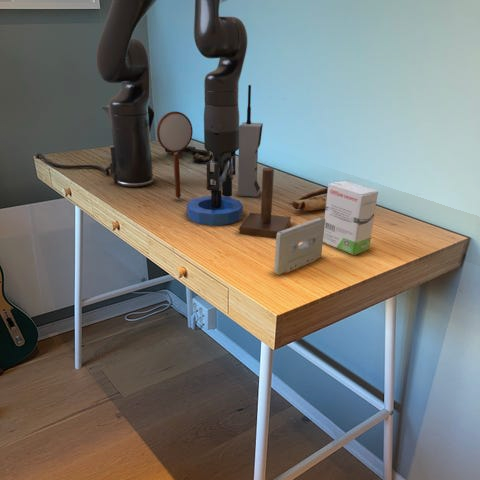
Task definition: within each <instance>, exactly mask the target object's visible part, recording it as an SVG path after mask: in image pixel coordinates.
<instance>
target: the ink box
mask: <svg viewBox="0 0 480 480" xmlns="http://www.w3.org/2000/svg"><path fill="white" fill-rule="evenodd" d="M327 188H328V192H327V194H326V195H327V201H326V208H325V209H324V218H325V228H324V236H323V244H327V245H329V246H331V247H334V248H336V249H338V250H341V251H343V252H345V253H347V254H350V255H352V256H356V255H358V254H360V253H363V252H365V251H368V250H370V246H371V238H372V233H373V226H374V220H375V215H376V214H375V213H376V207H377V200H378V196H379V195H378V194H379V191H378V190H376V189H373V188H370V187H366V186H362V185H360V184H357V183H354V182H350V181H347V180H341V181H335V182H331V183H328V184H327Z"/></svg>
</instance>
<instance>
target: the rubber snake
mask: <svg viewBox="0 0 480 480" xmlns="http://www.w3.org/2000/svg"><path fill="white" fill-rule="evenodd" d="M164 151H165V153H167V154H170V153H172V152H170V151H167V150H166V149H164ZM180 152H181V153H191V154H192V159H193V162H195V163H197V164H207V162H211V159H212V155H213V154H212V152H210V151H207V150H206V149H200V148H199V149H198V148H196V147H195V146H193V145H191V146H190V145H188V146H187V147H186V148H185V149H183V150H182V151H179V152H178V153H180Z"/></svg>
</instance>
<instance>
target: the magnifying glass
mask: <svg viewBox="0 0 480 480" xmlns="http://www.w3.org/2000/svg"><path fill="white" fill-rule="evenodd" d="M158 121H159V122H158V124H157V126H156V138H157V141H158V144H159V145H160V146H161V147H162V148H163V149H164V150H165V149H166V150H167V151H170V152H171V153H173V172H174V173H173V174H174V188H175V189H174V192H175V197H176V201H178V202H179V201H180V200H181V195H182V194H181V177H180V172H181V171H180V154H179V153H180V152H179V151H182V150H183V149H185V148H186V147H187V146H190V143H191V141H192V139H193V134H194V133H193V132H194V131H193V125H192V122H191V120H190V119H189V117H188V116H187V115H186V114H184V112H181V111H177V110H176V111H170V112H167V113H166V114H164V115H162V117H161V119H159V120H158Z"/></svg>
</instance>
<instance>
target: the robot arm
mask: <svg viewBox="0 0 480 480" xmlns="http://www.w3.org/2000/svg"><path fill="white" fill-rule="evenodd" d="M157 1H158V0H112V1H111V5H110V7H109V8H110V9H109V11H108V14H107V18H106V20H105V23H104V26H103V28H102V32H101V34H100V37H99V39H98V43H97V47H96V53H95V64H96V70H97V72H98V74H99V76H100V78H101V79H102V80H104V82H106V83H109V84H121V87H120V90H118V91H119V92H118V93H116V95H115V96H113V97H112V98H111V99H110V100H109V102H108V105H109V110H110V117H109V119H110V126H111V135H112V144H111V145H110V146H109V149H110V157H111V162H109V166H106V168H104V167H102V166H100V165H97V164H75V165H74V164H73V165H72V164H71V165H69V164H67V165H66V164H59V163H56V162H54V161H51V160H49V159H47V158H46V157H45V156H44V155H43V154H42V153H37V154H36V156H35V158H36V159H38V158H39V159H40V158H41V159H42V160H43V161H44V162H45V163H48V164H49V165H52V166H55V167H57V168H62V169H63V168H64V169H80V168H82V169H83V168H93V169H99V170H100V171H101V172H103V173H104V174H105V175H106V176H109V175H110V174H111V175H113V183H114V184H115V185H116V184H117V185H118V186H121V187H127V188H141V187H147V186H149V185H152V184H154V173H153V161H152V148H151V135H150V133H151V132H150V133H149V120H148V106H149V103H150V100H151V99H150V98H151V86H150V85H151V84H150V83H151V81H150V80H151V79H150V61H149V60H150V59H149V56H148V51H147V49H146V46H145V44H144V43H143V42H142V41H141V40H140V39H138V38H137V37H133V35H134V33H135V31H136V29H137V27H138V25H139V24H140V22H141V21H142V20H143V19H144V17H146V15H147V14H148V13H149V11H150V10H151V9H153V6H154V5H155V4H156V3H157ZM227 1H228V0H194V15H193V16H194V17H193V18H194V19H193V39H194V42H195V46H196V48H197V50H198V52H199V53H200V55H202V57H204V58H205V59H210V60H211V59H212V60H213V59H219V60H218V62H217V67H216V68H215V69H214V70H212V71H210V72H208V73H206V75H205V77H204V81H203V83H204V91H203V92H204V110H203V140H204V141H203V143H204V144H203V145H204V150H207V151H209V152H211V153H212V159H211V161H209V162H206V191H210V196H211V206H212V207H213V208H220V207H221V206H222V196H224V197H232V195H233V180H234V176H235V175H236V173H237V171H236V152H237V151H239V126H240V109H239V107H240V106H239V88H240V86H239V85H240V84H239V83H240V78H241V75H242V71H243V67H244V64H245V58H246V54H247V49H248V33H247V29H246V26H245V24H244V22H243V21H242V20H241V19H240V18H238V17H236V16H220V4H223V3H225V2H227ZM109 170H110V171H109Z"/></svg>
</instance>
